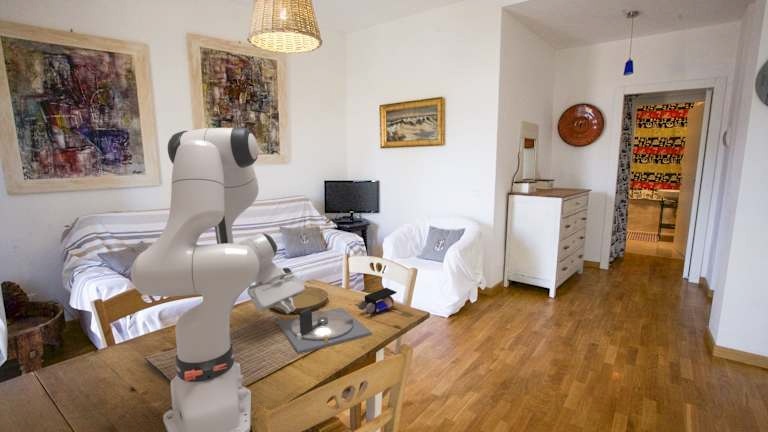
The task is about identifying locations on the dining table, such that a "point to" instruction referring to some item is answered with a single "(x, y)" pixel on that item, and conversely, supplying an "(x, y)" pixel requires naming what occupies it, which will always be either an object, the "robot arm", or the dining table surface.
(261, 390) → the dining table surface
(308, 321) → the dial
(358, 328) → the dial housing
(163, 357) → the dining table surface
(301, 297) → the plant saucer
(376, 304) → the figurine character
